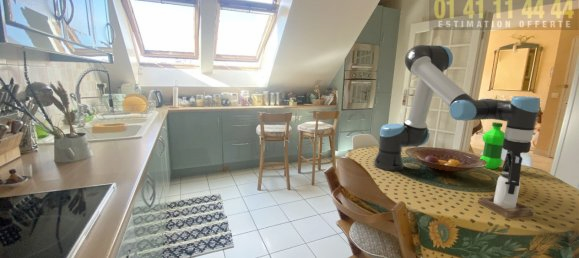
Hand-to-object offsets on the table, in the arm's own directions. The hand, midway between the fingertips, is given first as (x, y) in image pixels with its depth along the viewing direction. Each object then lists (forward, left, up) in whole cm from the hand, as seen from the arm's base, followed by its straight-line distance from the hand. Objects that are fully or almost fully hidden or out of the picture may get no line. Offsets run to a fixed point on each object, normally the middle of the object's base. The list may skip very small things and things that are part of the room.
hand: (506, 194), depth 96 cm
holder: (0, 0, -6) cm, 6 cm away
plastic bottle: (-1, +54, -6) cm, 54 cm away
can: (0, 0, -5) cm, 5 cm away
